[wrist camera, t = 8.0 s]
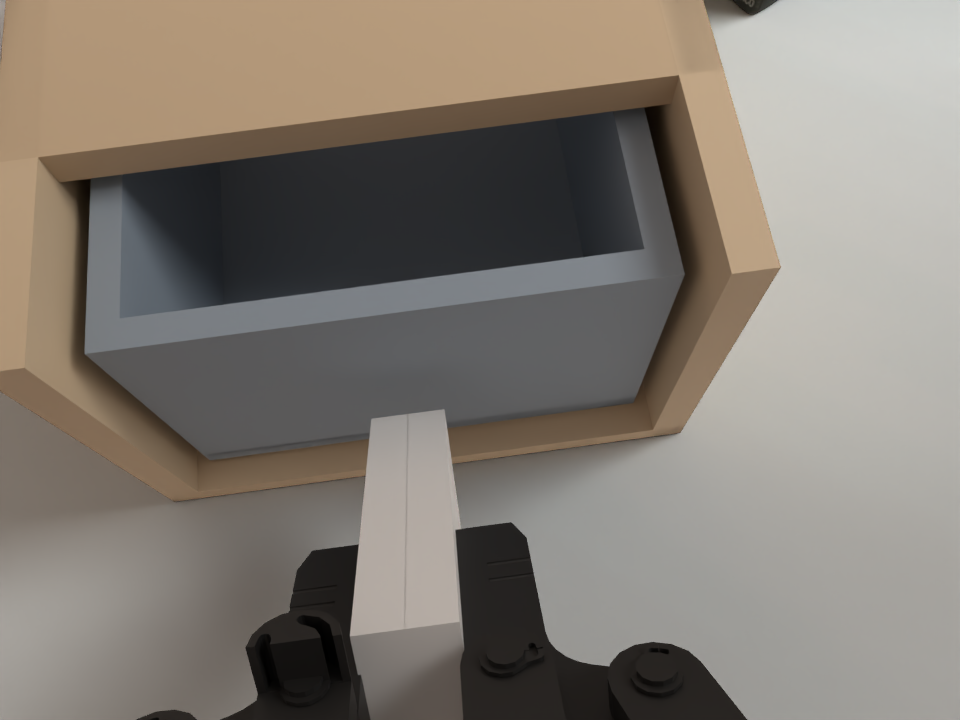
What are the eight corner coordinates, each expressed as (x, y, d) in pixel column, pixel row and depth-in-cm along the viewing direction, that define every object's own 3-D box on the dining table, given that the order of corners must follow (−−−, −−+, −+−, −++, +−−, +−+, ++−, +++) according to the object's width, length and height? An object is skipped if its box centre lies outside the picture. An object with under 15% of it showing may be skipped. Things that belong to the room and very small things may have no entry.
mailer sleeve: (584, 9, 28) (617, -295, 20) (680, 432, 23) (780, 267, 14) (172, 61, 28) (24, -224, 19) (174, 501, 23) (-27, 374, 14)
